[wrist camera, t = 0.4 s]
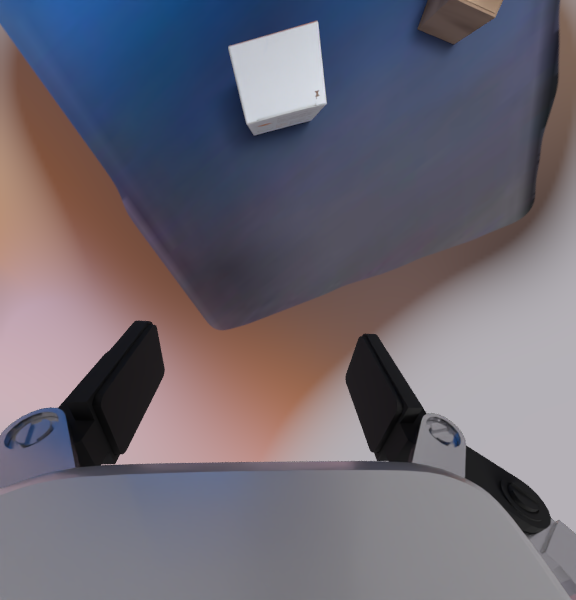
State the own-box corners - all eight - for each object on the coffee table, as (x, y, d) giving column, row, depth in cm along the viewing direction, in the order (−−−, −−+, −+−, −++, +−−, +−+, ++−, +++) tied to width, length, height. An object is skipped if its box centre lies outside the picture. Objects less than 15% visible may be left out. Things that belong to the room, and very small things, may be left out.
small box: (304, 65, 28) (321, 17, 19) (311, 122, 31) (329, 103, 22) (239, 82, 28) (226, 42, 19) (252, 136, 31) (246, 124, 22)
